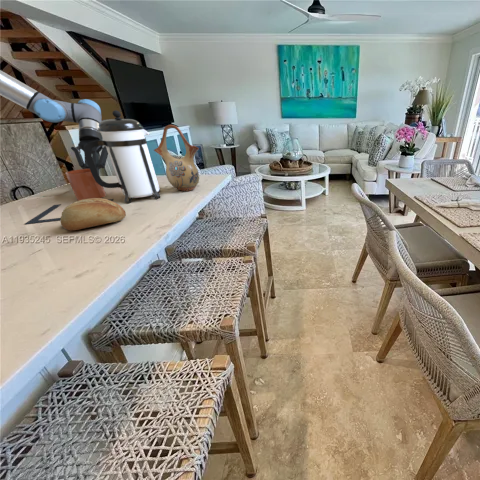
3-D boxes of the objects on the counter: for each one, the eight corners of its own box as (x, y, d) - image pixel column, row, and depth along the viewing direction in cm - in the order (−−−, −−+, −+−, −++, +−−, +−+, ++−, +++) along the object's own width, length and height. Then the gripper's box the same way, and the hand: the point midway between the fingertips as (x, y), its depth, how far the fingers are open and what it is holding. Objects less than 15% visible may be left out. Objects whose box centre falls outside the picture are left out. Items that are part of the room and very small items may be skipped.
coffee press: (145, 189, 110) (119, 110, 96) (174, 193, 105) (151, 109, 91) (102, 202, 96) (64, 111, 82) (133, 207, 91) (99, 110, 77)
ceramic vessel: (209, 186, 114) (196, 123, 103) (204, 192, 107) (190, 124, 95) (169, 188, 112) (152, 124, 101) (161, 194, 104) (141, 125, 93)
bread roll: (128, 224, 78) (119, 198, 74) (62, 238, 70) (48, 210, 67) (127, 214, 85) (118, 190, 81) (66, 226, 77) (53, 200, 74)
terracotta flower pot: (73, 202, 97) (60, 174, 92) (82, 195, 104) (71, 169, 99) (101, 199, 99) (91, 172, 95) (109, 192, 107) (99, 167, 102)
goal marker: (24, 224, 79) (24, 223, 79) (54, 205, 94) (53, 204, 94) (96, 216, 84) (96, 215, 84) (113, 199, 99) (113, 198, 99)
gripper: (113, 139, 116) (116, 185, 110) (77, 140, 112) (78, 189, 106) (104, 126, 109) (107, 176, 103) (65, 128, 105) (66, 179, 99)
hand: (92, 182), depth 105 cm, fingers closed
